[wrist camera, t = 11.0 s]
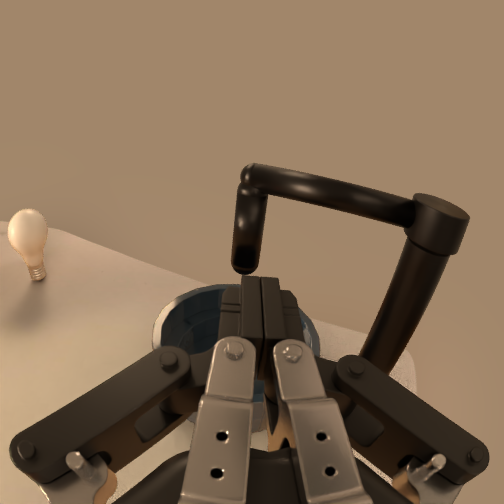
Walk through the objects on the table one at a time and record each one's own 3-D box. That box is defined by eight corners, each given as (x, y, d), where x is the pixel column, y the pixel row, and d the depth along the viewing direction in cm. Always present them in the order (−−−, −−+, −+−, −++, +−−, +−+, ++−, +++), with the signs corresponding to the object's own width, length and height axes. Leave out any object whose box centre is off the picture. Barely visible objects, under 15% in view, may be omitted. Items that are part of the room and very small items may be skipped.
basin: (331, 376, 29) (349, 337, 26) (229, 467, 20) (234, 440, 17) (235, 309, 38) (239, 269, 35) (132, 362, 28) (123, 320, 25)
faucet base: (384, 403, 26) (471, 249, 17) (356, 443, 22) (463, 281, 13) (339, 375, 29) (402, 217, 21) (306, 409, 25) (374, 236, 17)
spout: (420, 303, 21) (459, 204, 17) (427, 336, 18) (478, 225, 13) (240, 257, 24) (251, 152, 20) (220, 283, 21) (229, 161, 17)
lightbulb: (38, 264, 40) (24, 200, 34) (65, 271, 39) (52, 203, 34) (14, 285, 34) (-5, 217, 29) (41, 295, 34) (22, 222, 28)
